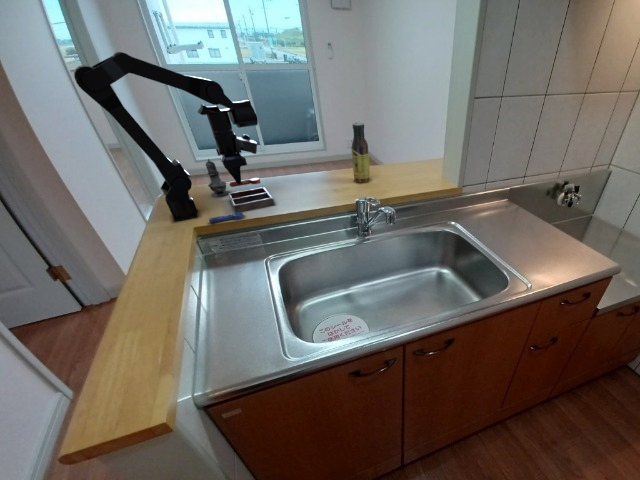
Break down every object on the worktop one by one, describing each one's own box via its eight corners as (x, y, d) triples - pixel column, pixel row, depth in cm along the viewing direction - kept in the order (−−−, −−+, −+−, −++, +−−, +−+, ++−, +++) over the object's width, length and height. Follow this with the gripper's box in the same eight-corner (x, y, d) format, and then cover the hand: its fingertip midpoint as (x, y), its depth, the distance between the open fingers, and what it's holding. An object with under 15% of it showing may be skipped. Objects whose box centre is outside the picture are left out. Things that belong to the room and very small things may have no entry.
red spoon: (231, 188, 105) (229, 184, 104) (229, 185, 107) (228, 181, 106) (261, 183, 109) (260, 178, 108) (259, 180, 111) (258, 176, 110)
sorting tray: (236, 213, 103) (233, 205, 101) (230, 200, 111) (227, 193, 109) (274, 205, 108) (272, 198, 106) (266, 193, 116) (264, 186, 114)
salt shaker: (217, 198, 112) (203, 162, 105) (208, 194, 115) (194, 159, 108) (233, 193, 116) (221, 158, 108) (224, 189, 119) (212, 155, 111)
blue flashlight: (210, 225, 96) (208, 220, 95) (209, 221, 98) (207, 217, 97) (244, 218, 100) (242, 213, 99) (242, 214, 102) (241, 210, 101)
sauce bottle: (352, 178, 127) (347, 122, 115) (368, 177, 129) (364, 120, 116) (356, 184, 122) (350, 125, 110) (372, 182, 124) (368, 124, 111)
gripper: (257, 132, 94) (270, 186, 103) (244, 121, 106) (258, 170, 116) (215, 137, 89) (233, 193, 99) (207, 125, 102) (224, 176, 112)
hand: (239, 182), depth 107 cm, fingers closed on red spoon, 1 cm apart
